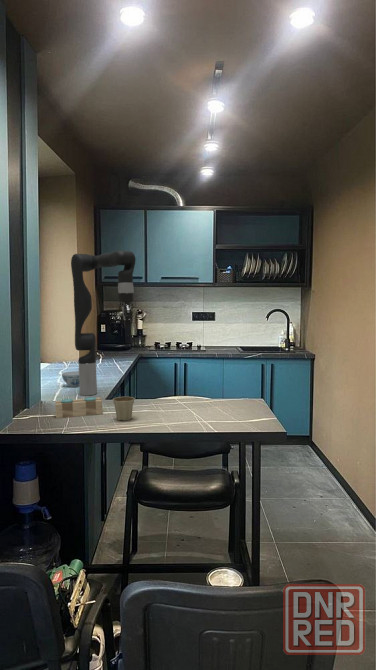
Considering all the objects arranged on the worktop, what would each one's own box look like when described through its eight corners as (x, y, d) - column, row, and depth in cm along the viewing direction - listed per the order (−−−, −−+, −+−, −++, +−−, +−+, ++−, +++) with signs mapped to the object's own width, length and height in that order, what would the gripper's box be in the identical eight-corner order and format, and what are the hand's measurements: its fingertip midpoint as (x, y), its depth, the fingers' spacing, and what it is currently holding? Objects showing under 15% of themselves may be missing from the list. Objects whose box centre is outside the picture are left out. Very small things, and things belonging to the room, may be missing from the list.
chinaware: (91, 383, 277) (90, 371, 276) (83, 388, 262) (82, 375, 261) (67, 383, 278) (67, 371, 278) (58, 388, 263) (57, 375, 263)
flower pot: (140, 417, 193) (139, 398, 192) (125, 423, 185) (124, 402, 184) (123, 415, 198) (123, 395, 197) (108, 420, 190) (107, 399, 190)
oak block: (56, 414, 202) (55, 401, 201) (101, 410, 207) (100, 397, 207) (56, 418, 195) (55, 404, 195) (102, 413, 201) (102, 400, 200)
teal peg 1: (61, 413, 202) (60, 399, 201) (73, 412, 203) (72, 398, 203) (61, 416, 197) (61, 401, 196) (73, 415, 198) (73, 400, 198)
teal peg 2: (84, 411, 204) (83, 397, 204) (96, 410, 206) (95, 396, 205) (85, 414, 199) (84, 399, 199) (96, 413, 201) (96, 398, 200)
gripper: (116, 292, 224) (117, 327, 226) (120, 292, 212) (121, 328, 213) (131, 292, 226) (132, 326, 228) (135, 291, 214) (136, 328, 215)
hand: (127, 327), depth 220 cm, fingers closed
